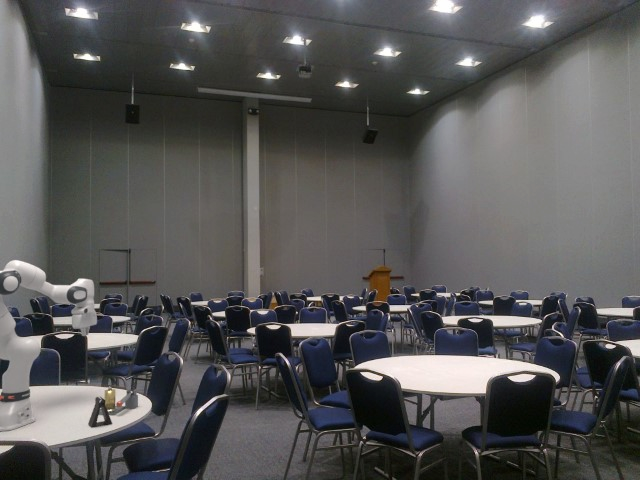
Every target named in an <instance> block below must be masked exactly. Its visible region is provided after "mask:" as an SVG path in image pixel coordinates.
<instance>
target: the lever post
mask: <svg viewBox="0 0 640 480" xmlns="http://www.w3.org/2000/svg"><path fill="white" fill-rule="evenodd" d="M129 391H131V390H130V389H126V395H127V394H128V393H129ZM133 391H134V395H132V396H131V397H130V398H129V399H128V400H127V401H126V402H124V406H125V409H124V410H129V409H132V410H135V409H137V408H138V407H139V395H138V393H137V392H138V391H137V389H134V390H133Z"/></svg>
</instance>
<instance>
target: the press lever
mask: <svg viewBox="0 0 640 480" xmlns="http://www.w3.org/2000/svg"><path fill="white" fill-rule="evenodd" d="M132 395H134V390H130V391H129V393H128V394H127V393H126V395H125V396H123V397H122V398H121V399H120V400H119V401H117V402H115V406H117V407H121V406H123V405H124V404H125V402H126V401H127V400H128V399H129V398H130V397H131V396H132Z"/></svg>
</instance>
